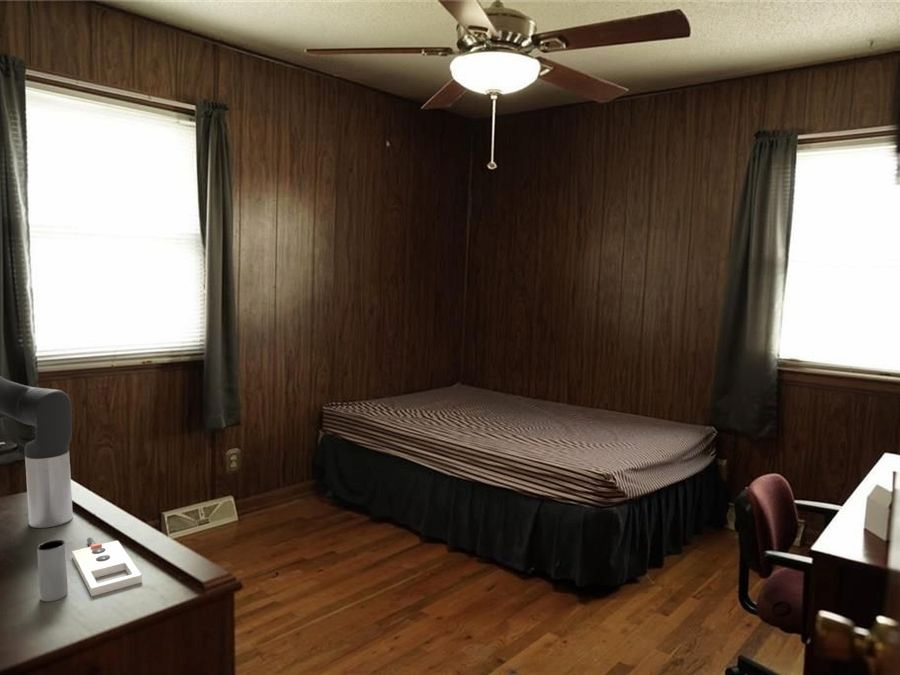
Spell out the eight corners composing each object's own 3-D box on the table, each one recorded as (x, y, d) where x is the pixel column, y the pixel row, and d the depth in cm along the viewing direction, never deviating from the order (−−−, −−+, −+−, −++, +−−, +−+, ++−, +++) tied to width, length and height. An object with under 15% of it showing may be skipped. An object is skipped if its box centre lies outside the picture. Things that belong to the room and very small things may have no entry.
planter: (73, 592, 126) (70, 541, 125) (52, 603, 122) (49, 551, 120) (56, 588, 127) (53, 538, 126) (34, 599, 123) (31, 547, 122)
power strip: (67, 547, 145) (66, 538, 145) (111, 537, 151) (111, 528, 151) (91, 596, 124) (91, 585, 124) (141, 582, 130) (141, 572, 130)
